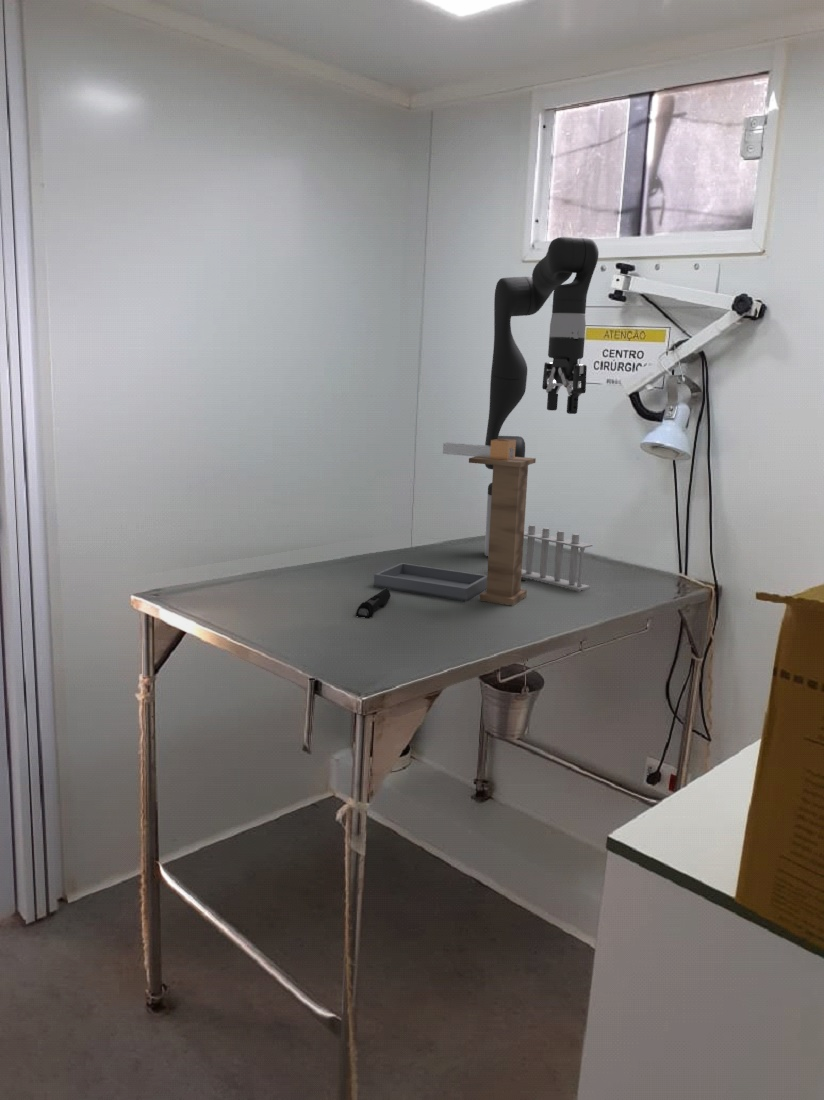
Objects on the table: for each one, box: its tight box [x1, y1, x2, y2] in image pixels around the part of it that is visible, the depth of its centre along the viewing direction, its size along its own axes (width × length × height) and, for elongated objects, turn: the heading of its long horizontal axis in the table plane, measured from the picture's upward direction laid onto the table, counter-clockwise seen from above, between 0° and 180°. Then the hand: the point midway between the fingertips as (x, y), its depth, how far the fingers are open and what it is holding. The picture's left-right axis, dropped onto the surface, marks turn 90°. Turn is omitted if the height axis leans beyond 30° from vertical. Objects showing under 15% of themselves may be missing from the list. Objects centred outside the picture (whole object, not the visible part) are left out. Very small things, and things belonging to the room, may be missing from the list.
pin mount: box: [468, 456, 536, 606], centre depth 195 cm, size 10×12×32 cm
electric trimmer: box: [355, 588, 391, 619], centre depth 187 cm, size 4×16×3 cm, turn 163°
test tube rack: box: [521, 524, 593, 592], centre depth 215 cm, size 25×4×13 cm, turn 44°
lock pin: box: [442, 439, 516, 460], centre depth 194 cm, size 5×16×4 cm, turn 64°
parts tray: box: [373, 562, 487, 602], centre depth 205 cm, size 14×24×3 cm, turn 64°
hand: (561, 411), depth 189 cm, fingers open, 8 cm apart
